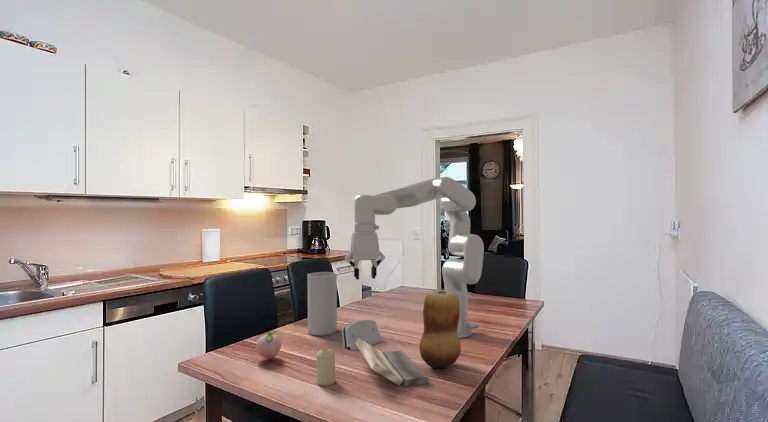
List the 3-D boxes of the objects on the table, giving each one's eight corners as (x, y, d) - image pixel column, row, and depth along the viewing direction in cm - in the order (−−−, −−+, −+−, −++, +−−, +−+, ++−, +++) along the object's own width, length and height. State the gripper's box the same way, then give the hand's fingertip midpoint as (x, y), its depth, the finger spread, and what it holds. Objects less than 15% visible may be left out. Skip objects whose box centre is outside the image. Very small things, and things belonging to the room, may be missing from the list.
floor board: (401, 356, 139) (401, 350, 139) (427, 383, 116) (427, 376, 116) (383, 358, 137) (383, 352, 137) (404, 386, 114) (404, 379, 114)
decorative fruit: (255, 357, 139) (255, 329, 140) (279, 354, 142) (279, 326, 142) (257, 366, 131) (256, 336, 131) (282, 363, 134) (282, 333, 134)
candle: (317, 378, 120) (317, 346, 121) (335, 377, 121) (335, 345, 121) (315, 386, 115) (315, 352, 115) (334, 385, 115) (334, 351, 116)
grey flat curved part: (351, 350, 145) (345, 323, 148) (343, 352, 148) (338, 325, 151) (383, 340, 156) (377, 315, 159) (376, 342, 160) (370, 317, 162)
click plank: (378, 357, 137) (381, 352, 137) (399, 385, 114) (403, 379, 114) (355, 342, 135) (358, 337, 135) (371, 369, 112) (375, 362, 112)
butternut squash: (451, 378, 120) (450, 296, 120) (412, 369, 127) (412, 292, 127) (467, 363, 131) (466, 289, 132) (431, 356, 139) (430, 285, 139)
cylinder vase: (302, 334, 166) (301, 275, 166) (317, 326, 178) (317, 271, 178) (327, 337, 161) (327, 277, 162) (342, 329, 173) (341, 272, 173)
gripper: (384, 228, 148) (385, 276, 148) (340, 229, 144) (340, 278, 143) (390, 228, 141) (390, 279, 141) (343, 229, 136) (343, 281, 136)
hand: (365, 278), depth 142 cm, fingers open, 5 cm apart
